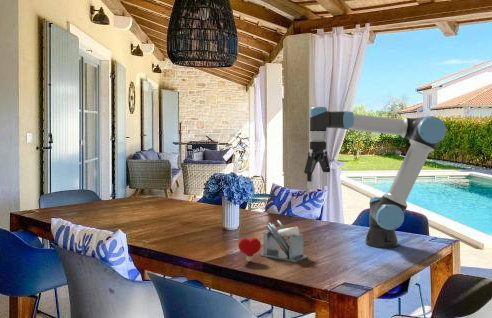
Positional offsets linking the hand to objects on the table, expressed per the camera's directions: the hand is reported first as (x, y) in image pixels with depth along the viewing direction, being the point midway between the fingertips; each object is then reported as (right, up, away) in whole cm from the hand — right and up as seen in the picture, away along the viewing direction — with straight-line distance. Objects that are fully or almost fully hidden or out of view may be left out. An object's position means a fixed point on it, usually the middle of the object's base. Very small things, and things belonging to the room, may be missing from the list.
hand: (317, 187), depth 223 cm
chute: (-16, -29, -11) cm, 35 cm away
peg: (-18, -20, -10) cm, 29 cm away
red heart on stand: (-31, -30, -20) cm, 48 cm away
